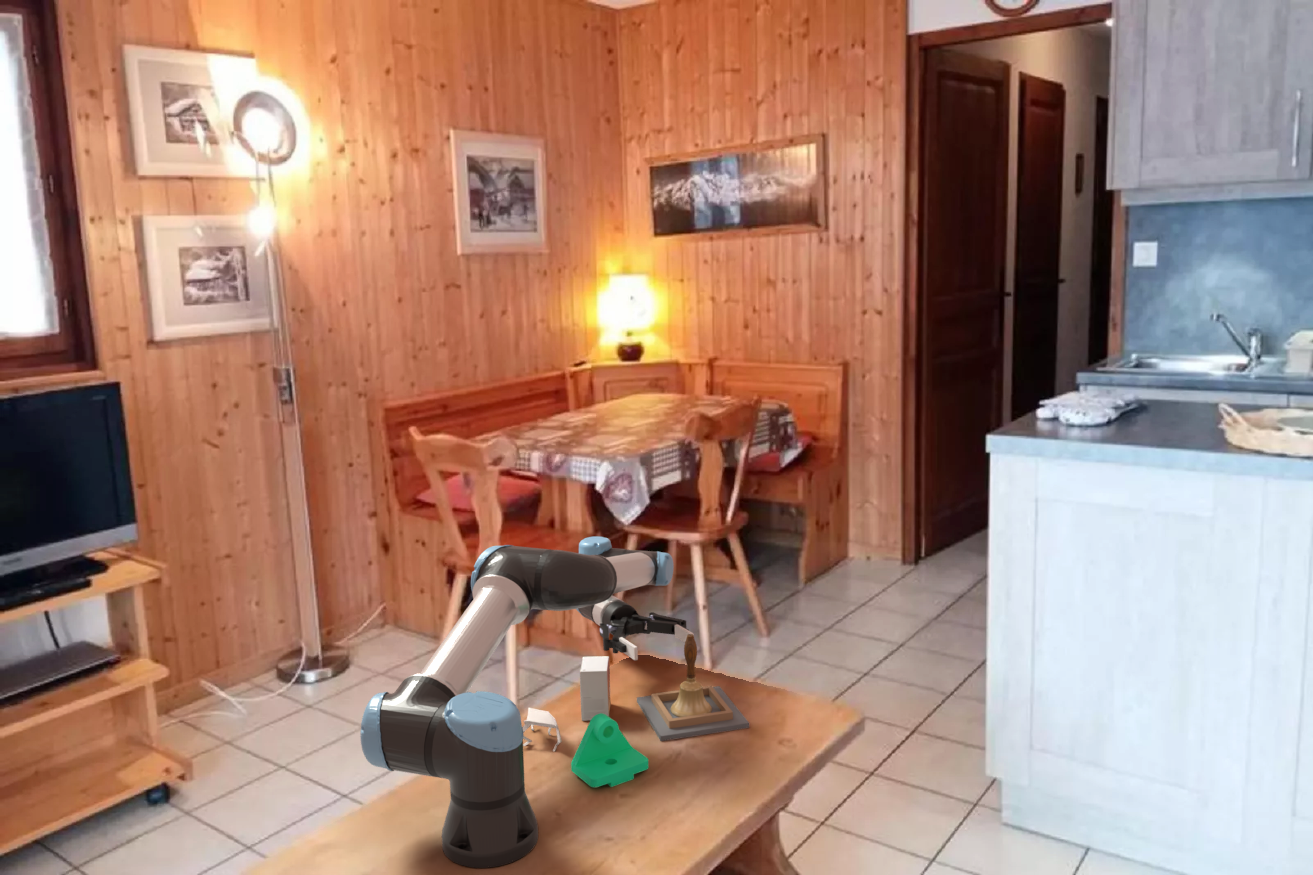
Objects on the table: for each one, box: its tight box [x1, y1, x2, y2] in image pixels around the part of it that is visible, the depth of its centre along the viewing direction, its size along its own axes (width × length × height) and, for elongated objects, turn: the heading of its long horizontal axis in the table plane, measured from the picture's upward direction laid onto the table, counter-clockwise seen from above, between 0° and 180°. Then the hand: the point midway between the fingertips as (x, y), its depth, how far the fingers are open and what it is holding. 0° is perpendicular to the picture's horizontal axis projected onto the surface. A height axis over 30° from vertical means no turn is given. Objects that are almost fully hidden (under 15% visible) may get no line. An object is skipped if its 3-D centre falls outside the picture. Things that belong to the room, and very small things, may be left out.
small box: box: [579, 655, 611, 722], centre depth 209 cm, size 8×6×10 cm
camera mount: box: [570, 713, 649, 788], centre depth 184 cm, size 12×8×10 cm, turn 124°
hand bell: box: [671, 634, 712, 717], centre depth 206 cm, size 8×8×16 cm
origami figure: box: [522, 707, 562, 752], centre depth 197 cm, size 12×8×5 cm
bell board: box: [636, 685, 750, 742], centre depth 208 cm, size 18×18×2 cm
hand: (664, 646), depth 214 cm, fingers open, 13 cm apart
